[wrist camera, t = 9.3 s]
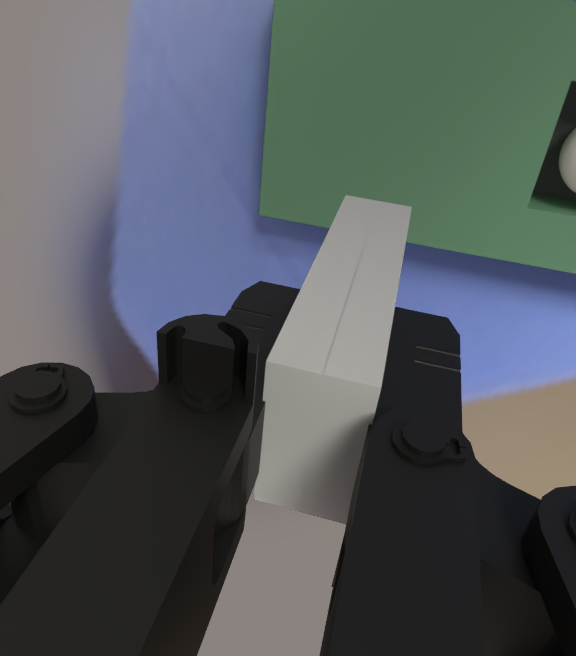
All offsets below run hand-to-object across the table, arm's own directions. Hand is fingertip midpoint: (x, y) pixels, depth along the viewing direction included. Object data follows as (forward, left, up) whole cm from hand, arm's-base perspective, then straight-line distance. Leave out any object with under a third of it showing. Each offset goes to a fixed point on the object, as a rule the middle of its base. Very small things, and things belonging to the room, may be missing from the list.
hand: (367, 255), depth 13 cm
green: (0, +4, -20) cm, 20 cm away
